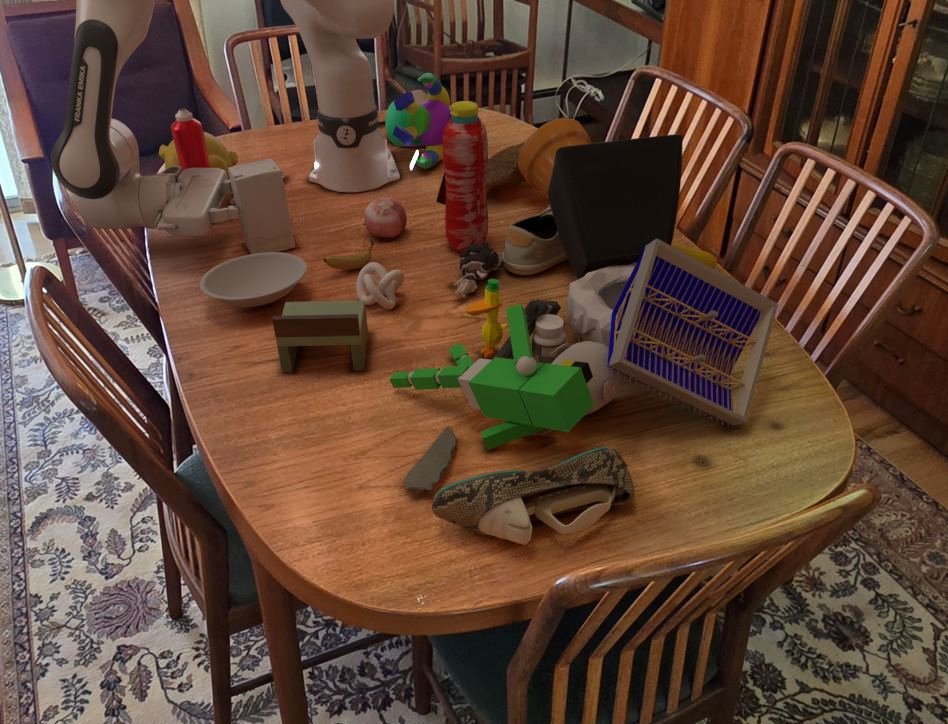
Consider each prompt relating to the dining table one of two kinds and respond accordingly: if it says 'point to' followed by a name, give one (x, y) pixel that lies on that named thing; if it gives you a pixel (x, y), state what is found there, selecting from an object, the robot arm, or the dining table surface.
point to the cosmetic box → (262, 206)
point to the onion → (385, 218)
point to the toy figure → (489, 317)
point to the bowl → (596, 302)
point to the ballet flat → (538, 496)
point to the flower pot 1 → (548, 150)
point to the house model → (689, 332)
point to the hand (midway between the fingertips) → (244, 200)
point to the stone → (432, 463)
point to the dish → (254, 278)
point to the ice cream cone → (419, 96)
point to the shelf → (321, 329)
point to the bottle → (189, 141)
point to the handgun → (530, 322)
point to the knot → (379, 285)
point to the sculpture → (215, 152)
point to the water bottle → (465, 177)
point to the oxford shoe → (533, 244)
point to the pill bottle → (547, 337)
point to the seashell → (504, 169)
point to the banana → (349, 260)
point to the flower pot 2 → (615, 198)
